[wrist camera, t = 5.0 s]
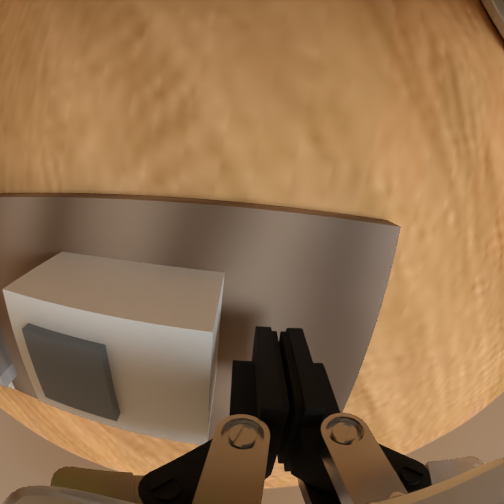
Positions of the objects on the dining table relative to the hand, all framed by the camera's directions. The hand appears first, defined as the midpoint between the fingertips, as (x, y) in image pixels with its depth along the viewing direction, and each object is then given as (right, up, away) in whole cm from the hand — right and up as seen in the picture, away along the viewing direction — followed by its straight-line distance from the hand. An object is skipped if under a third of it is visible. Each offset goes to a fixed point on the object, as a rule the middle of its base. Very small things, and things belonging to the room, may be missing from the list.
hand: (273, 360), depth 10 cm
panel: (-10, 0, +2) cm, 10 cm away
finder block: (-6, +1, +1) cm, 6 cm away
